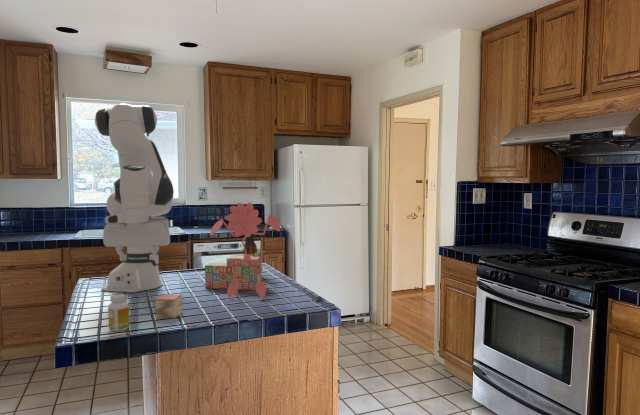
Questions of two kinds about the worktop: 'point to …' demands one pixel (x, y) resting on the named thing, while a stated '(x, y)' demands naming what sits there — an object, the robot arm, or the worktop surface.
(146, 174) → the robot arm
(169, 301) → the maple cube
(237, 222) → the coral stemmed figure
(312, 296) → the worktop surface
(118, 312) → the supplement bottle
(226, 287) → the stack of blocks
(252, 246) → the sauce bottle
